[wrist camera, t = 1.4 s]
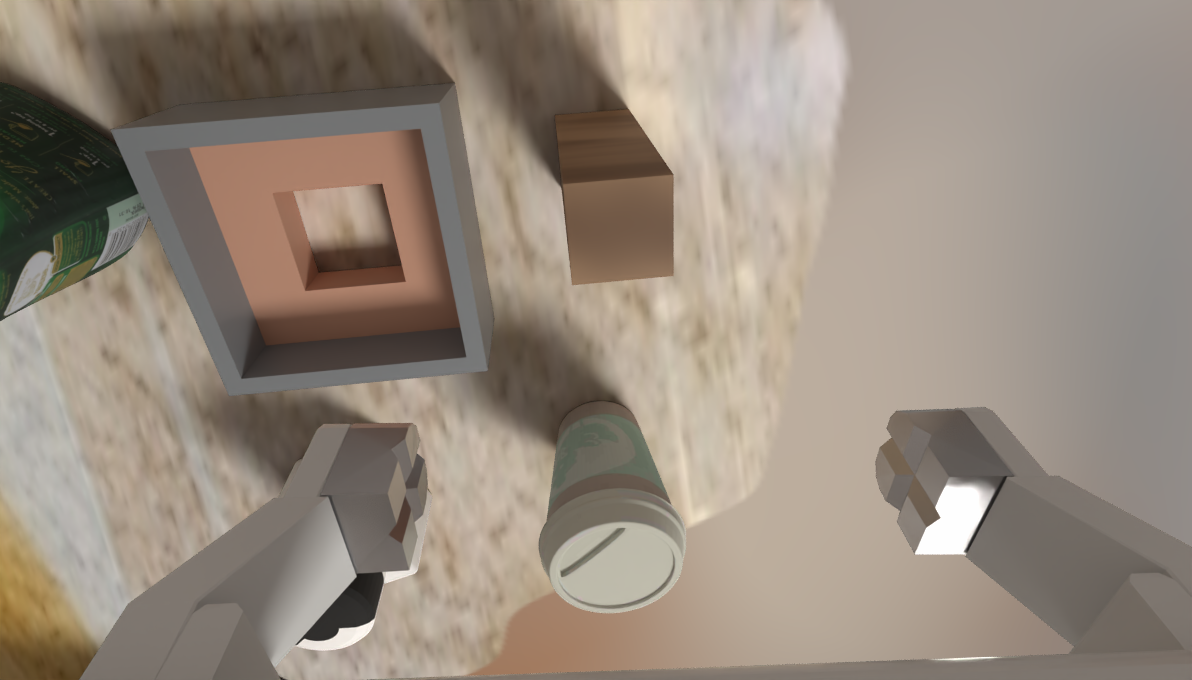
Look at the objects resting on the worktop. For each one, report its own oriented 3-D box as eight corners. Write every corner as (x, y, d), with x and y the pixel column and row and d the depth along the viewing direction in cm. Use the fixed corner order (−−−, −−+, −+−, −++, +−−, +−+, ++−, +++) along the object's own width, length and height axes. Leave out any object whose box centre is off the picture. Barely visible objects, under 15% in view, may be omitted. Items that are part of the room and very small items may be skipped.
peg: (631, 182, 36) (673, 275, 25) (561, 188, 36) (572, 285, 24) (628, 108, 34) (673, 174, 22) (554, 115, 34) (562, 184, 22)
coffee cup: (645, 371, 42) (679, 498, 32) (666, 463, 47) (703, 601, 36) (523, 400, 43) (519, 535, 32) (556, 489, 47) (561, 632, 37)
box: (494, 319, 39) (487, 370, 34) (269, 340, 39) (229, 395, 34) (455, 82, 32) (439, 103, 27) (179, 104, 32) (110, 129, 27)
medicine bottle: (294, 459, 44) (219, 608, 33) (385, 426, 43) (337, 568, 33) (349, 525, 47) (297, 678, 37) (434, 495, 47) (405, 644, 36)
